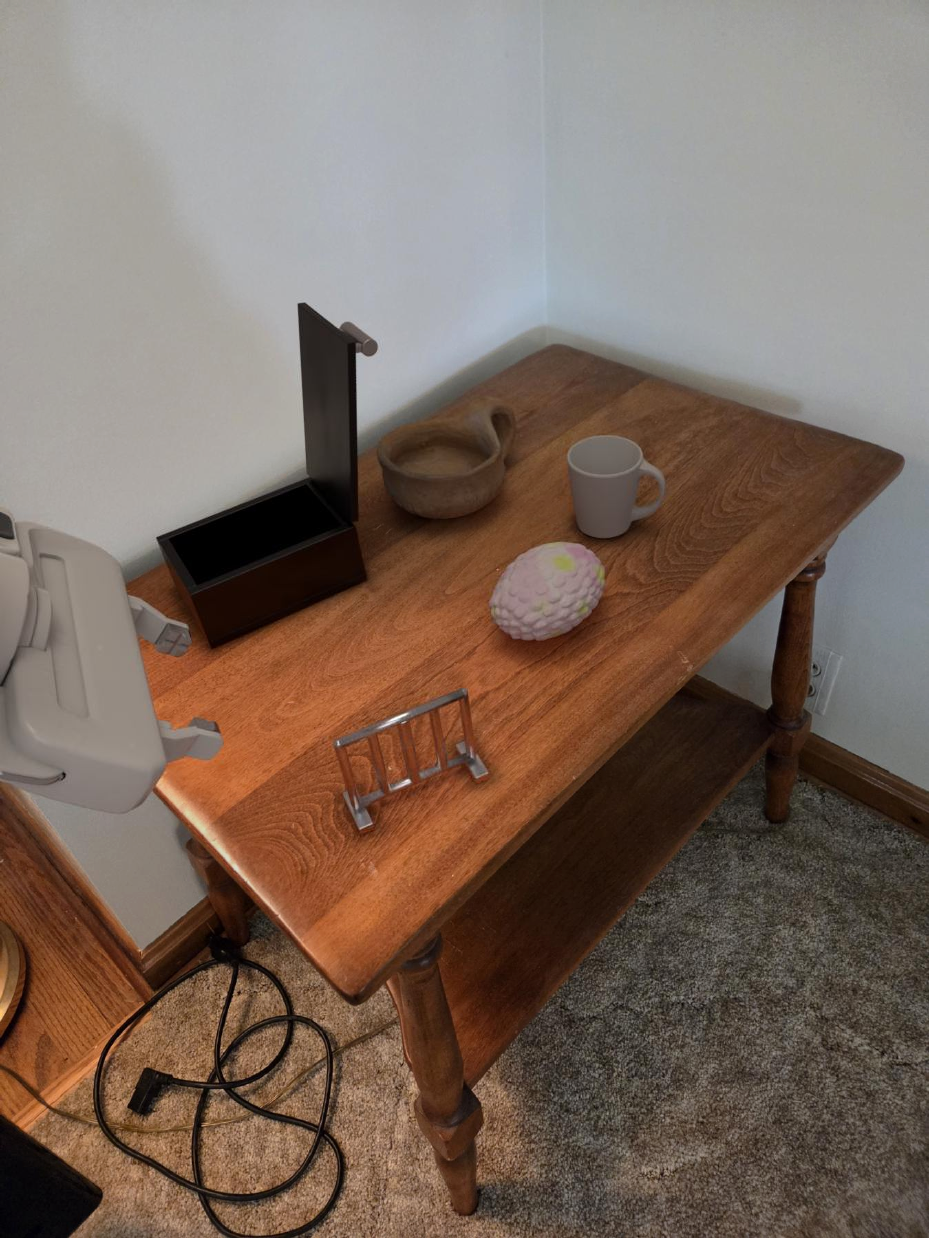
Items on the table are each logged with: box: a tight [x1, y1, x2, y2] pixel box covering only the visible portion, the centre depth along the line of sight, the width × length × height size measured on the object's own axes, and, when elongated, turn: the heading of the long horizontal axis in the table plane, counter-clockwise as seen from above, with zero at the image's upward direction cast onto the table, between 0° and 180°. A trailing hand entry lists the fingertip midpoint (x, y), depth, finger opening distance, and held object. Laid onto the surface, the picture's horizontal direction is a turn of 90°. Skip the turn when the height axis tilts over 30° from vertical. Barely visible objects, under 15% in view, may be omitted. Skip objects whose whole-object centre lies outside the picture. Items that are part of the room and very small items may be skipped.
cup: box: [566, 434, 667, 539], centre depth 93 cm, size 8×10×8 cm
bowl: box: [376, 396, 517, 520], centre depth 101 cm, size 18×14×10 cm
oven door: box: [296, 302, 379, 523], centre depth 87 cm, size 18×11×4 cm
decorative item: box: [488, 541, 606, 642], centre depth 84 cm, size 9×11×10 cm
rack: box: [332, 687, 491, 836], centre depth 70 cm, size 11×4×9 cm, turn 115°
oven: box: [155, 476, 368, 650], centre depth 92 cm, size 17×11×7 cm, turn 121°
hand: (200, 689), depth 56 cm, fingers open, 8 cm apart
